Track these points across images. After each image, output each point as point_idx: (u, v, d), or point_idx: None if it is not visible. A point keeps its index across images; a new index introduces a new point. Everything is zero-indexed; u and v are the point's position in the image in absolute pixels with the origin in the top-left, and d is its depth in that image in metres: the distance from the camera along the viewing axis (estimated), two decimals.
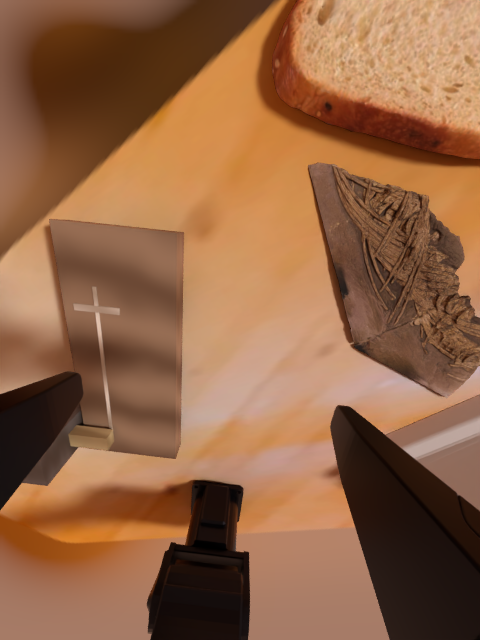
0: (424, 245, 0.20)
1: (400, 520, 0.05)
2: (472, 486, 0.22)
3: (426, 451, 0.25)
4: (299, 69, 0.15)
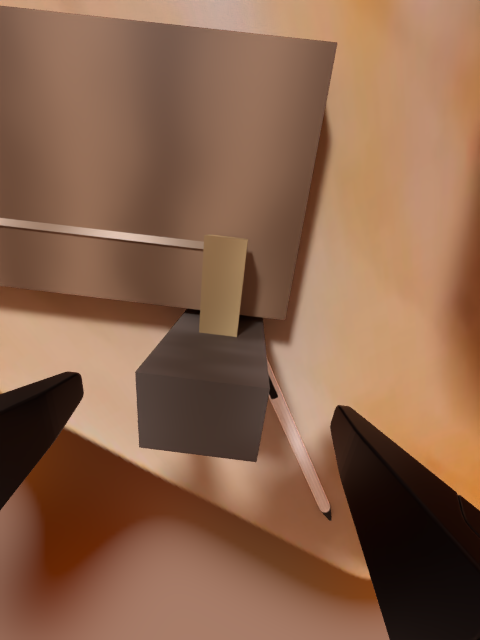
0: None
1: (400, 520, 0.05)
2: None
3: None
4: None
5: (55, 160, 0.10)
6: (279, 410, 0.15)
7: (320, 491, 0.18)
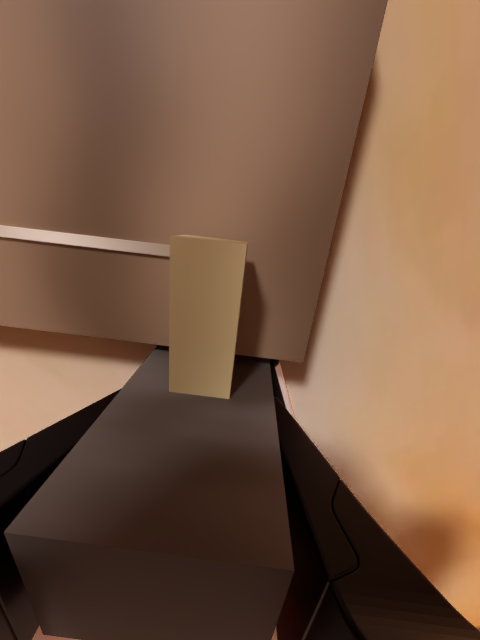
0: None
1: None
2: None
3: None
4: None
5: None
6: None
7: None
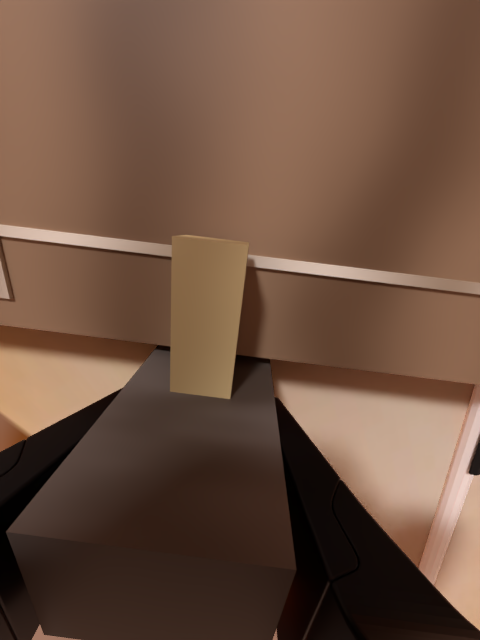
0: None
1: None
2: None
3: None
4: None
5: (233, 147, 0.06)
6: (462, 487, 0.11)
7: (434, 581, 0.14)
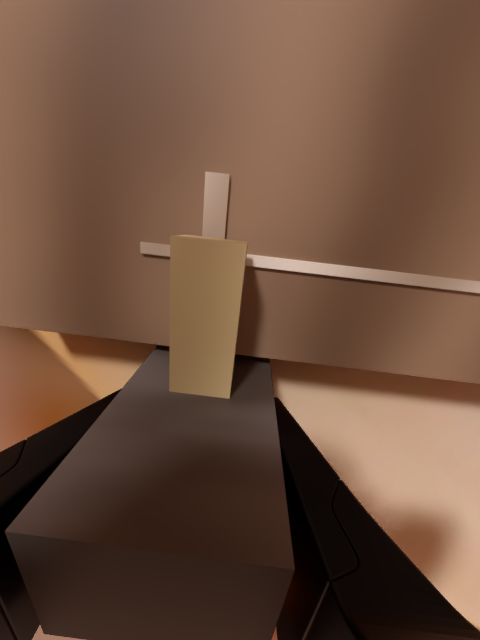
0: None
1: None
2: None
3: None
4: None
5: None
6: None
7: None
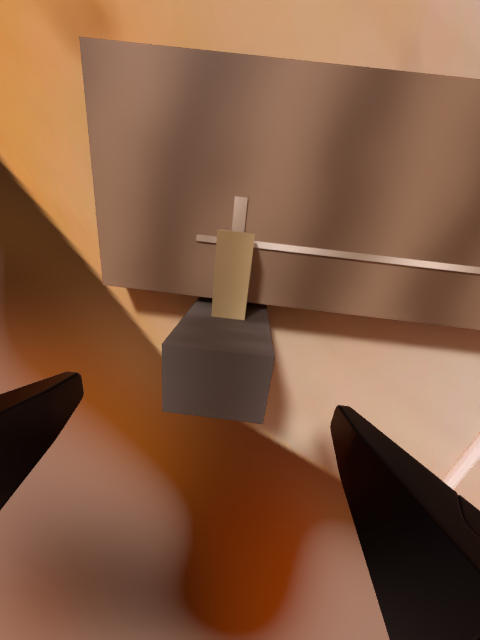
0: None
1: (400, 520, 0.05)
2: None
3: None
4: None
5: (390, 199, 0.11)
6: None
7: None
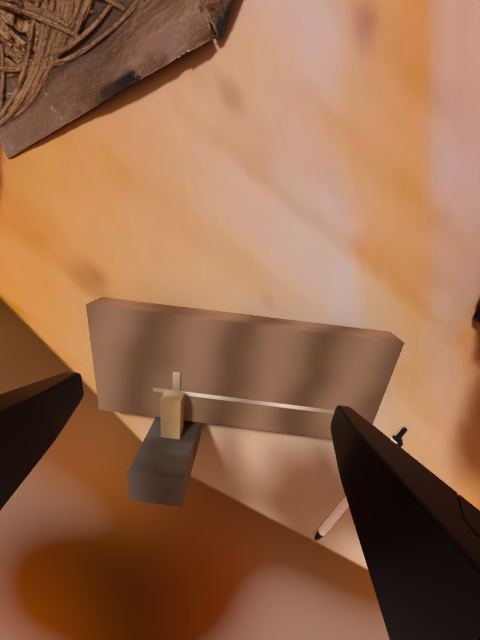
0: None
1: (400, 520, 0.05)
2: None
3: None
4: None
5: (258, 375, 0.20)
6: None
7: None
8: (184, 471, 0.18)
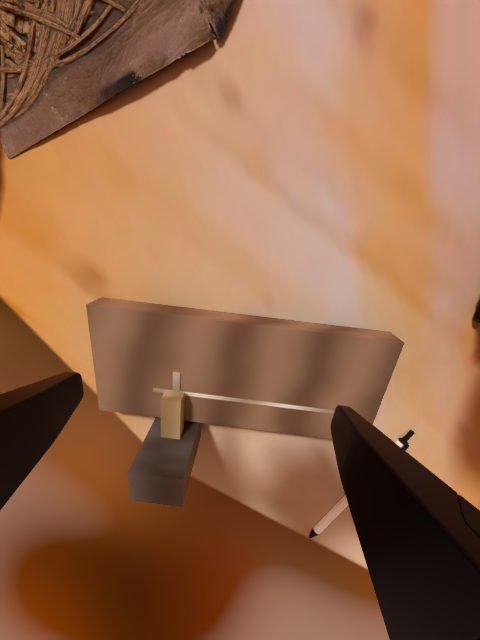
0: None
1: (400, 520, 0.05)
2: None
3: None
4: None
5: (258, 375, 0.20)
6: None
7: (329, 523, 0.28)
8: (184, 471, 0.18)
